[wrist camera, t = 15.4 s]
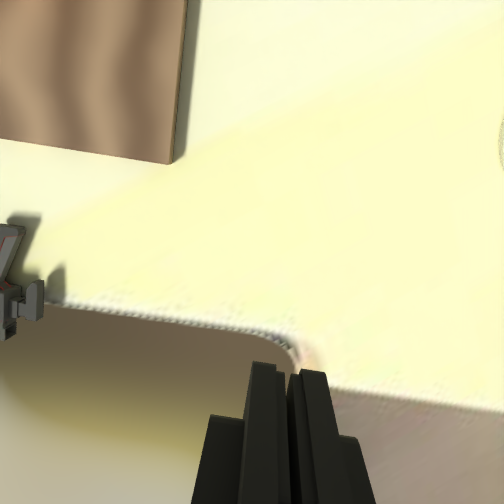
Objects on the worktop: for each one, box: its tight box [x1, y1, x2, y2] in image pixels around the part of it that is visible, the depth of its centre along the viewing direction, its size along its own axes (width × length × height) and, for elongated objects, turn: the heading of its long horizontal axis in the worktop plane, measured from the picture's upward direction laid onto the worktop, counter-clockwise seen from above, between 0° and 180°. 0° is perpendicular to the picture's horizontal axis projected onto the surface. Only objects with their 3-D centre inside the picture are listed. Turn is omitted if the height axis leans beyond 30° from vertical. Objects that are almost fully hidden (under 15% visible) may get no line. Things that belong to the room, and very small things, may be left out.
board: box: [0, 0, 188, 165], centre depth 37 cm, size 18×20×2 cm
